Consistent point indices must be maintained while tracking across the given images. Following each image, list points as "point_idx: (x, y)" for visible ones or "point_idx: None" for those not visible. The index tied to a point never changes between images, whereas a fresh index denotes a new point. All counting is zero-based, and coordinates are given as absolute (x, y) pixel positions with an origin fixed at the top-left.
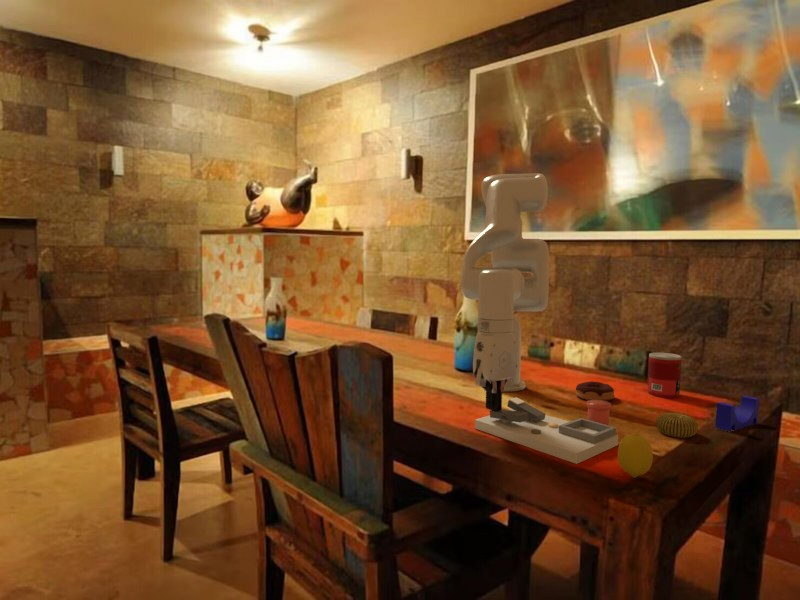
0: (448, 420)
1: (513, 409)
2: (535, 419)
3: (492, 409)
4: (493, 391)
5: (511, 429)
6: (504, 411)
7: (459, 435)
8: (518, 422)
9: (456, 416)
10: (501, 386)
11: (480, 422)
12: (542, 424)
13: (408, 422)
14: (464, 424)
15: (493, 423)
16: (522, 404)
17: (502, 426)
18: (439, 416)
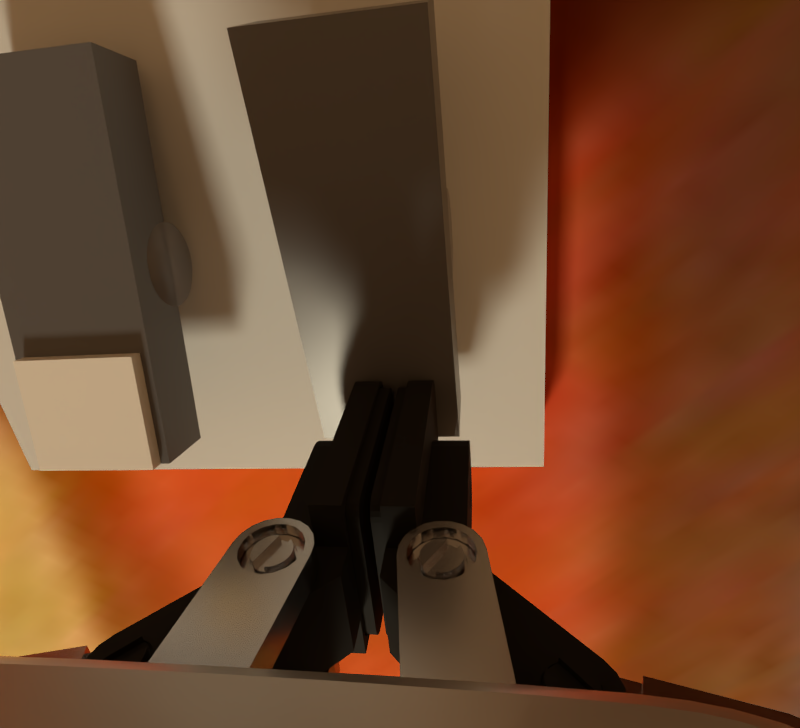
0: (550, 607)
1: (186, 365)
2: (124, 69)
3: (437, 429)
4: (485, 550)
5: (492, 83)
6: (380, 317)
7: (755, 391)
8: None
9: None
10: (279, 585)
11: (544, 408)
12: (91, 5)
13: (777, 704)
14: (526, 512)
15: (495, 316)
16: (71, 340)
17: (492, 209)
18: None
